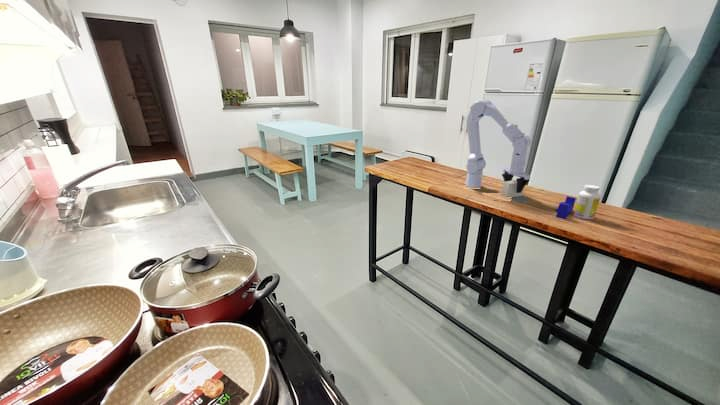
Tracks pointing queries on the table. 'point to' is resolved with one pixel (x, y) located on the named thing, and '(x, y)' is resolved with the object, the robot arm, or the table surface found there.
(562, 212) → the blue l-shaped block
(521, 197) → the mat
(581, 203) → the supplement bottle
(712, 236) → the table surface
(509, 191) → the card box
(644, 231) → the table surface
